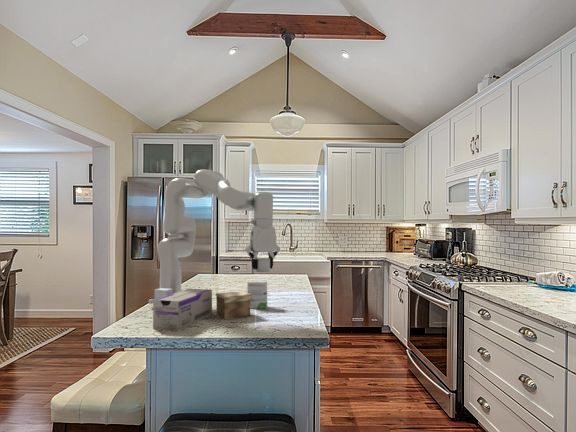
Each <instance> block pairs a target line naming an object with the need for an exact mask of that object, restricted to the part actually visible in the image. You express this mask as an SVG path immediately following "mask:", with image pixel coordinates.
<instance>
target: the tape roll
mask: <svg viewBox="0 0 576 432" xmlns="http://www.w3.org/2000/svg"><path fill="white" fill-rule="evenodd" d="M256 259H257V260H258V265H257V269H254V272H257V273H270V272H271V269H270V258H269V257H257V258H256Z"/></svg>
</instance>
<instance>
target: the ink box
mask: <svg viewBox="0 0 576 432" xmlns="http://www.w3.org/2000/svg"><path fill="white" fill-rule="evenodd" d="M246 289H247V293H250V294H252V300H250V309H267V308H268V281H266V280H264V281H260V280H250V281H248V282H247V288H246Z"/></svg>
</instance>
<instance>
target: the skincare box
mask: <svg viewBox="0 0 576 432" xmlns="http://www.w3.org/2000/svg"><path fill="white" fill-rule="evenodd" d="M170 294H173V289H166V288H160V287H159V288H154V296H153V297H154V298H153V299H157V298H161V297H164V296H167V295H170Z"/></svg>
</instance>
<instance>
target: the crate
mask: <svg viewBox="0 0 576 432" xmlns="http://www.w3.org/2000/svg"><path fill="white" fill-rule="evenodd" d="M216 315H217V316H219V317H220V318H222V319H224V320H225V321H226V320H231V319H238V318H239V319H240V318H246V317H251V308H250V300H248V301H239V302H230V303H224V298H221V297H219V296H216Z"/></svg>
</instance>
